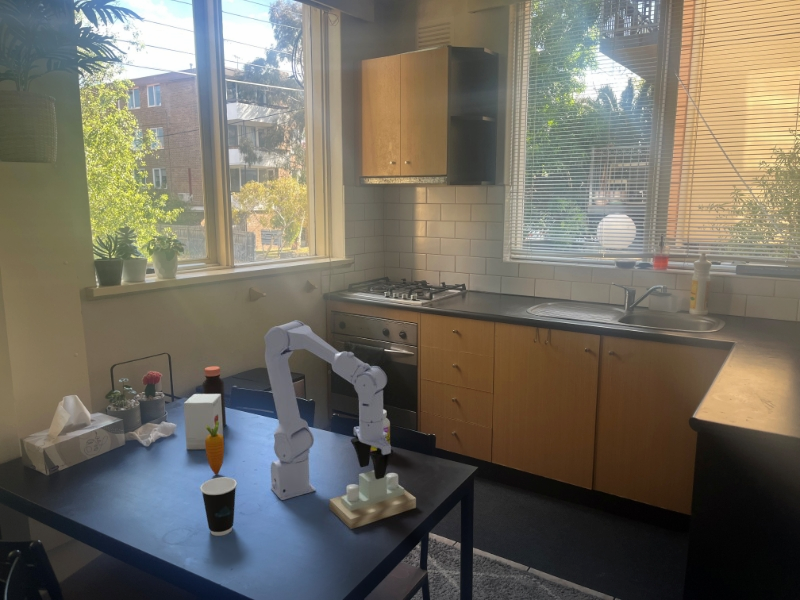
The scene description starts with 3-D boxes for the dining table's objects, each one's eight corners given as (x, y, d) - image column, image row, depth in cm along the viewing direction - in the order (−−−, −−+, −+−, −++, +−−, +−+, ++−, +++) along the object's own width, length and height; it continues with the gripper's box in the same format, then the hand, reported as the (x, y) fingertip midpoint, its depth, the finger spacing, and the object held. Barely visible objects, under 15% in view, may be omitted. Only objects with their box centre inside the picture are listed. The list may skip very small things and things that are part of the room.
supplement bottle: (380, 459, 173) (380, 417, 171) (363, 453, 177) (362, 412, 175) (394, 451, 179) (394, 410, 176) (377, 446, 182) (377, 406, 180)
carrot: (208, 480, 161) (205, 427, 158) (205, 472, 165) (202, 421, 163) (227, 476, 163) (224, 424, 161) (224, 469, 167) (221, 418, 165)
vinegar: (201, 428, 197) (197, 370, 194) (211, 421, 204) (207, 364, 201) (220, 429, 196) (217, 371, 193) (229, 422, 203) (226, 365, 200)
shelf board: (350, 529, 136) (350, 519, 136) (329, 508, 145) (329, 499, 145) (415, 507, 146) (415, 498, 145) (392, 489, 155) (392, 480, 154)
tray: (350, 511, 139) (350, 487, 138) (341, 502, 143) (340, 479, 142) (404, 494, 147) (404, 471, 146) (393, 486, 151) (393, 464, 150)
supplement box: (215, 450, 180) (212, 402, 178) (185, 450, 180) (182, 402, 178) (224, 438, 189) (221, 393, 187) (196, 438, 189) (193, 393, 187)
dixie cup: (224, 542, 131) (221, 496, 129) (195, 535, 134) (192, 489, 132) (246, 524, 138) (244, 480, 137) (218, 518, 141) (215, 474, 139)
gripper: (401, 424, 138) (402, 479, 140) (370, 406, 150) (371, 457, 152) (375, 430, 134) (376, 486, 136) (345, 412, 146) (346, 463, 148)
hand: (371, 471), depth 144 cm, fingers open, 7 cm apart
